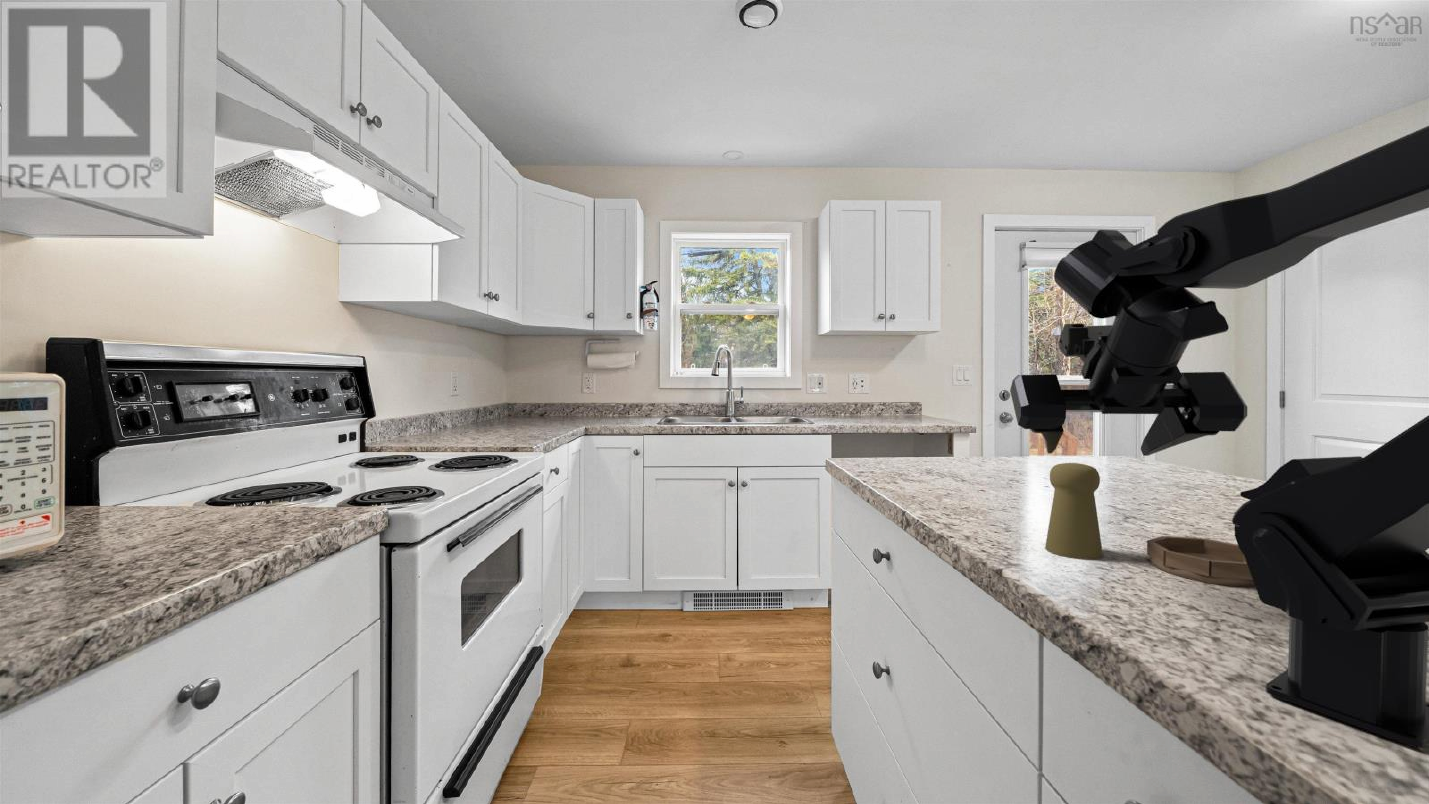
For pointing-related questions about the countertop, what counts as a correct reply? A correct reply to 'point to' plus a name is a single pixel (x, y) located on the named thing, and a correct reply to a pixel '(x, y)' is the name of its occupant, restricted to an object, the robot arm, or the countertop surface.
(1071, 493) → the cork
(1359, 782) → the countertop surface
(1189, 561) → the walnut coaster
